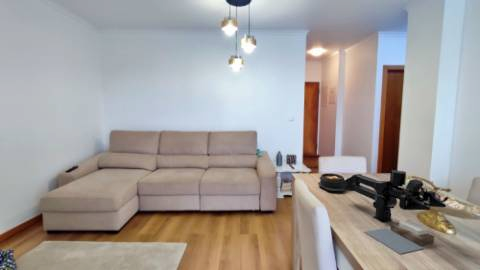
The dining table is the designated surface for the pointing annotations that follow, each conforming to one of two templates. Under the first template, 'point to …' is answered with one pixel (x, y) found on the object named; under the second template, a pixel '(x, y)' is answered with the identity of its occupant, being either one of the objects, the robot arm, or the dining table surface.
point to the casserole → (331, 182)
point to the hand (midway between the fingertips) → (437, 207)
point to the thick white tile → (414, 227)
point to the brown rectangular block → (412, 235)
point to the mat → (394, 241)
